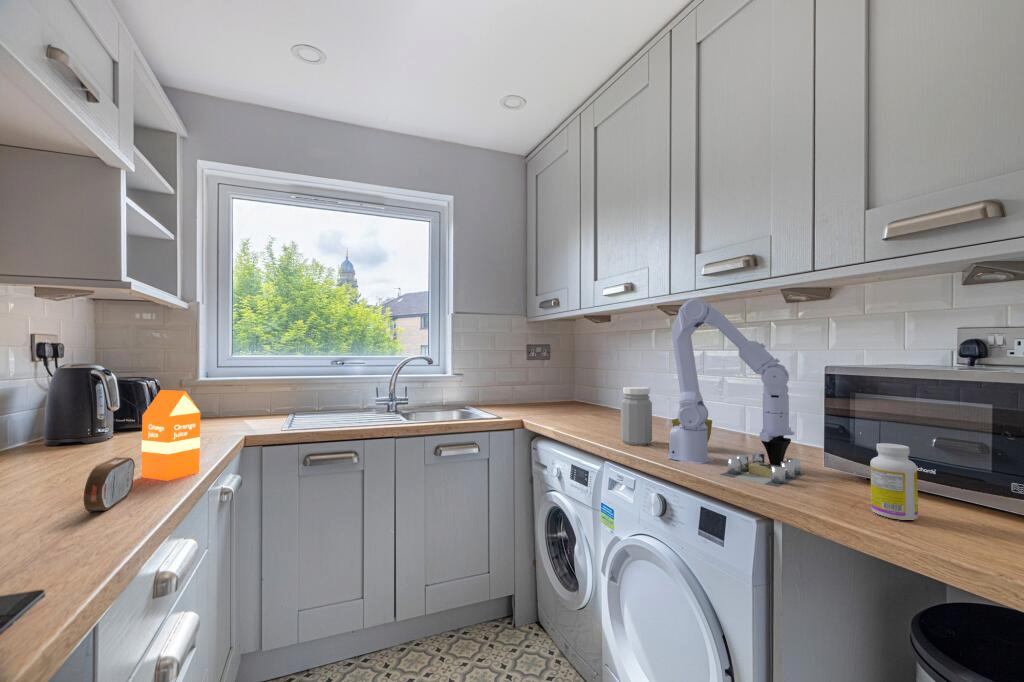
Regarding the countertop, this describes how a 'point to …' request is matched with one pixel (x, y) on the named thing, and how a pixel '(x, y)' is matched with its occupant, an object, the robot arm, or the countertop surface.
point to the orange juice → (170, 437)
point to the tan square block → (760, 469)
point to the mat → (758, 478)
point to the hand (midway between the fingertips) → (776, 466)
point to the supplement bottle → (894, 482)
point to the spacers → (777, 472)
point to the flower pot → (707, 422)
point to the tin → (108, 484)
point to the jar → (636, 416)
